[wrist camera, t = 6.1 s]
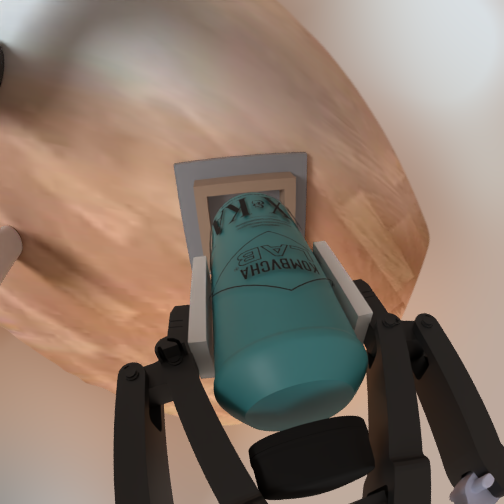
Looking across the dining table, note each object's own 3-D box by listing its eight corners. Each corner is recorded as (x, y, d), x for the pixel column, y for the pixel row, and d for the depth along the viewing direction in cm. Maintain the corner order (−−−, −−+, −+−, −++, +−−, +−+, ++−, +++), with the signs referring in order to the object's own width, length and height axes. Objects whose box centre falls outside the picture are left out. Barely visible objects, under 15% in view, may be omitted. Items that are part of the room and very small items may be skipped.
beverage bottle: (294, 240, 25) (402, 468, 8) (223, 263, 25) (253, 512, 8) (276, 171, 21) (449, 424, 4) (196, 198, 21) (178, 500, 4)
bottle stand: (174, 163, 35) (170, 170, 32) (304, 152, 37) (314, 158, 34) (193, 272, 45) (192, 287, 41) (301, 259, 46) (308, 273, 43)
